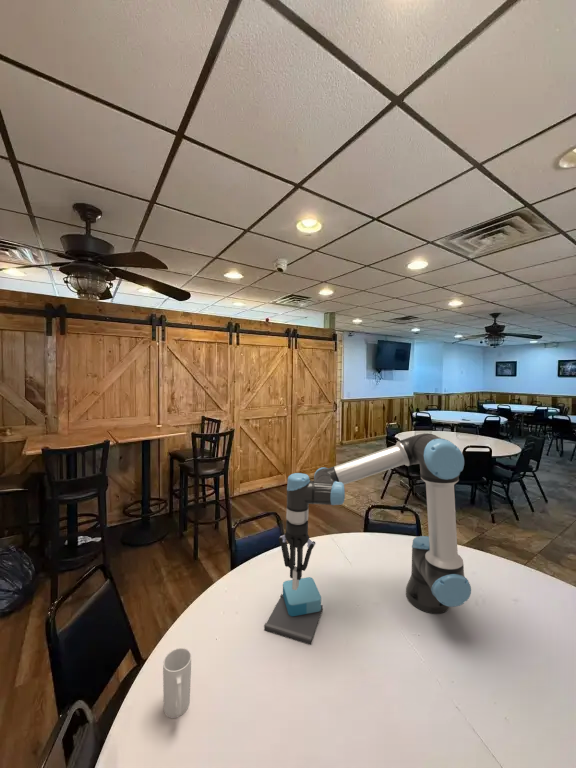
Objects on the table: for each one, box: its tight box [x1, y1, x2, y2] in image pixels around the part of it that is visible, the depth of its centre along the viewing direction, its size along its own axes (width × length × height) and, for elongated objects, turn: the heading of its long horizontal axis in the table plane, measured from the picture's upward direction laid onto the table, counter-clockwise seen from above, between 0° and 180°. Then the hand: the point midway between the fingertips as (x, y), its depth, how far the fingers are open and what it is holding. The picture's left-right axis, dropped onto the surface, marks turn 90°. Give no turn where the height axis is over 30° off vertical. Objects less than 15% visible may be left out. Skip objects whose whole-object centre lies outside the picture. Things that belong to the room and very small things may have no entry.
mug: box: [162, 647, 192, 719], centre depth 79 cm, size 10×7×12 cm, turn 23°
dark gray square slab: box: [263, 593, 324, 646], centre depth 110 cm, size 16×16×2 cm
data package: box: [282, 576, 322, 616], centre depth 117 cm, size 12×4×12 cm
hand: (295, 587), depth 110 cm, fingers closed
